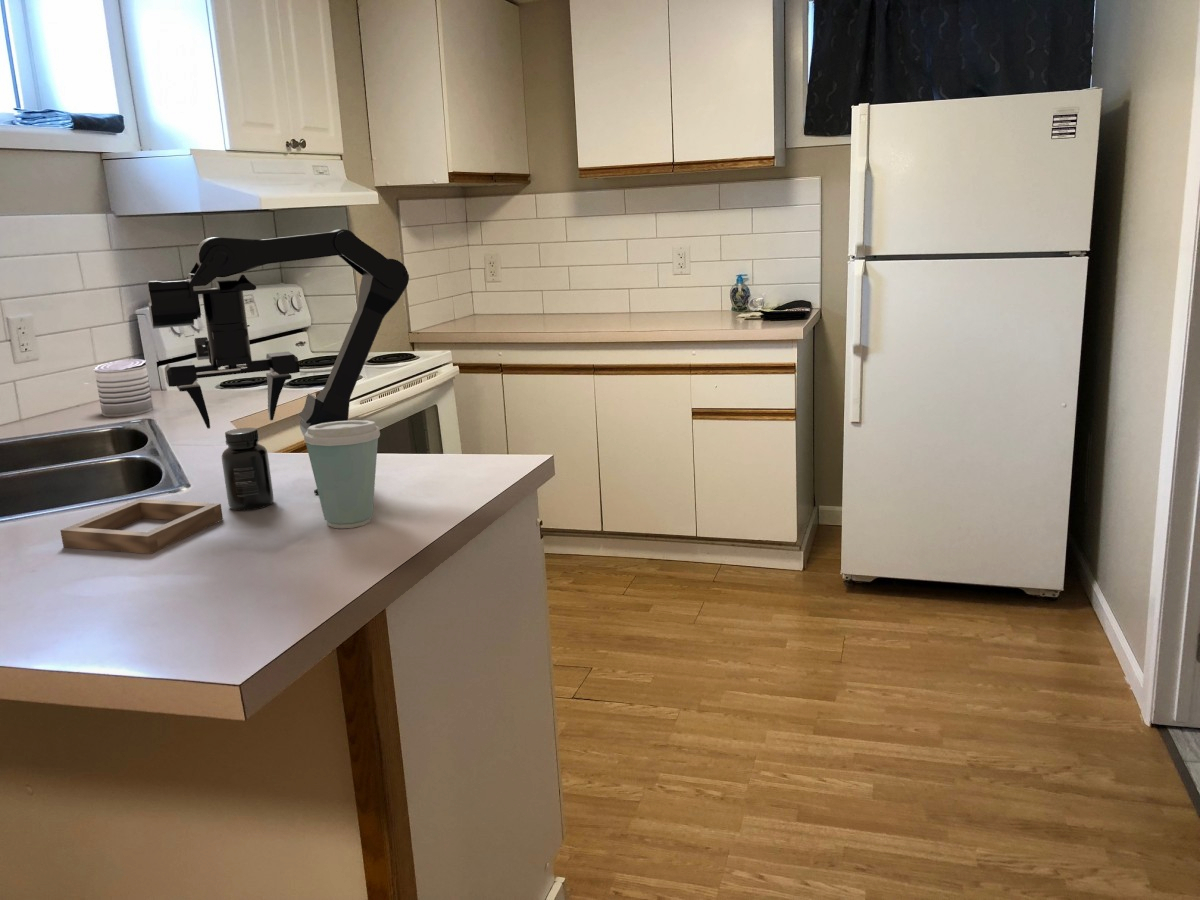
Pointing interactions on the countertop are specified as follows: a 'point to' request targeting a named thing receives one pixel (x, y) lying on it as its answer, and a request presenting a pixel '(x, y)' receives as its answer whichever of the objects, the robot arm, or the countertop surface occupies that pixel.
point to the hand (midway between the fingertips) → (240, 424)
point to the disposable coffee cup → (344, 469)
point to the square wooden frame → (105, 537)
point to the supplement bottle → (246, 470)
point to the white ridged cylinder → (123, 388)
